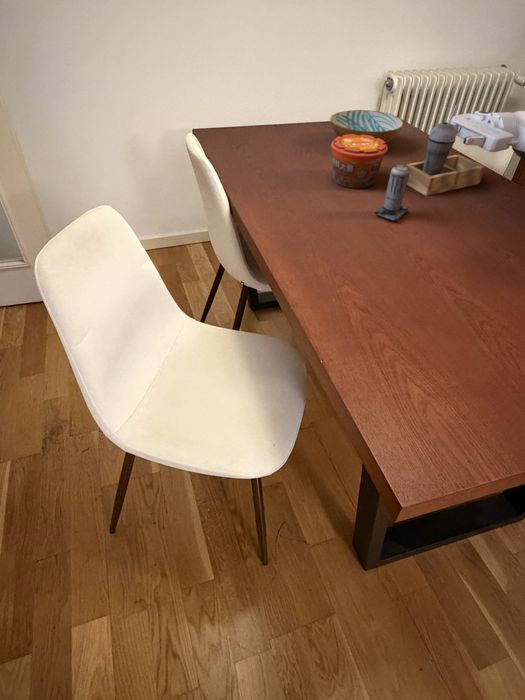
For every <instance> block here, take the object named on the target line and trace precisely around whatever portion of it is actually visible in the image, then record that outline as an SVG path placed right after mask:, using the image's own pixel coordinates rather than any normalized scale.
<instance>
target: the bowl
mask: <svg viewBox="0 0 525 700" xmlns="http://www.w3.org/2000/svg"><path fill="white" fill-rule="evenodd" d="M329 121H330V125H331V127H332V130H333V131H334V133H335V135H336V136H337V137H339V136H340V137H342V136H343V135H348V134H355V135H369V136H373V137H374V138H375V139H377V138H379V139H381V140H383V141H384V142H385V144H386V145H387V144H388V143H389V142H390V141H392V140H394V138H395V137H396V136H397V135H398V134H399V133H400V131H401V130H402V128H403V127H404V126H405V122H404V120H403V119H402V118H400V117H398V116H396V115H394V114H391V113H388V112H383V111H376V110H368V109H349V110H344V111H343V110H342V111H339V112H336V113H334V114H332V115H331V116H330V117H329Z"/></svg>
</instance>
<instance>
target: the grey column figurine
mask: <svg viewBox="0 0 525 700" xmlns="http://www.w3.org/2000/svg"><path fill="white" fill-rule="evenodd" d="M409 173H410V172H409V168H407V167H405V165H404V164H394V166H393V167H392V168H391V170H390V174H389V178H388V183H387V187H386V192H385V196H384V201H383V205H382V206H381V207H380V208H379V209H376V211H374V215H376V216H380V217H382V218H384V219H388V220H391V221H394V223H399V221H400V220H401V217H403V216H404V215H408V214H409V209H410V208H409V206H408V207H407V208H404V205H402V204H403V201H404V198H405V197H404V196H405V194H406V189H407V186H408V185H407V181H408V177H409Z"/></svg>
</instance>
